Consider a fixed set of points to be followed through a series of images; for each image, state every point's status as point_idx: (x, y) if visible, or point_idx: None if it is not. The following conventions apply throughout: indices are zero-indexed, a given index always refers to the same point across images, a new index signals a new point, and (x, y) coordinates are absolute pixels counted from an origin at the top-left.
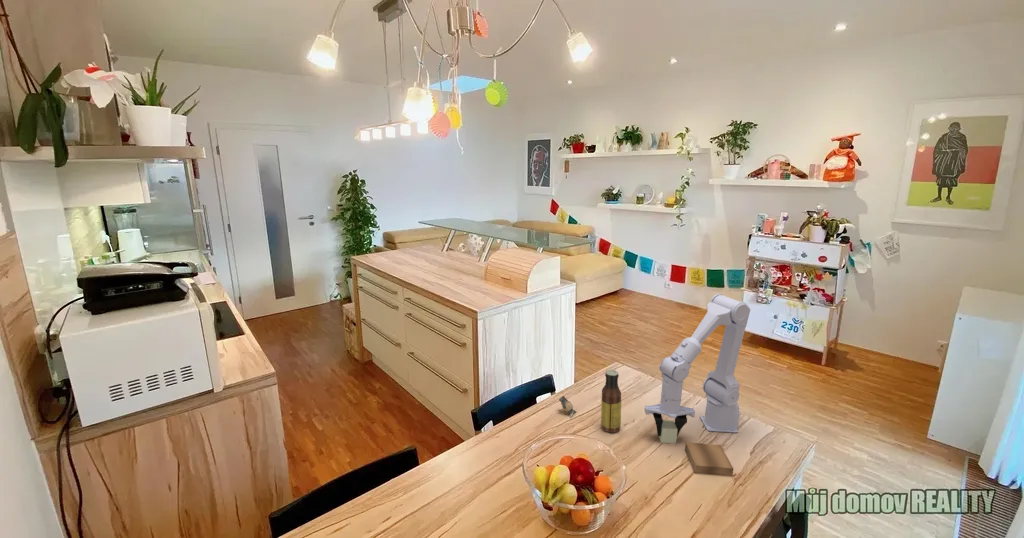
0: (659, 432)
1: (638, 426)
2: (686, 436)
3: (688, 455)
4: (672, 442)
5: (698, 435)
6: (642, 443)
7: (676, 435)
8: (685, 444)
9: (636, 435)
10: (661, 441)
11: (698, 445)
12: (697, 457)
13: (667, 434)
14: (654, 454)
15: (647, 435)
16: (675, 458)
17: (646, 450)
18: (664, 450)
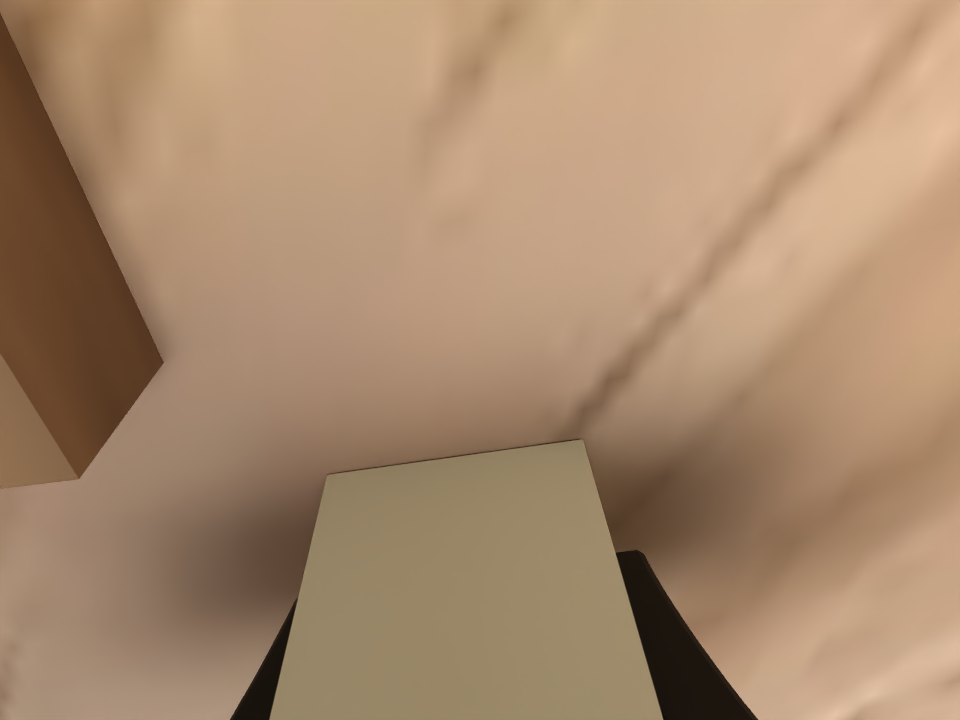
0: (661, 619)
1: (826, 663)
2: (182, 641)
3: (11, 135)
4: (387, 480)
5: (25, 687)
6: (933, 348)
7: (303, 619)
8: (107, 439)
9: (943, 508)
10: (582, 458)
11: None
12: None
13: (500, 603)
14: (818, 43)
15: (761, 543)
16: (335, 9)
17: (949, 151)
18: (556, 247)
